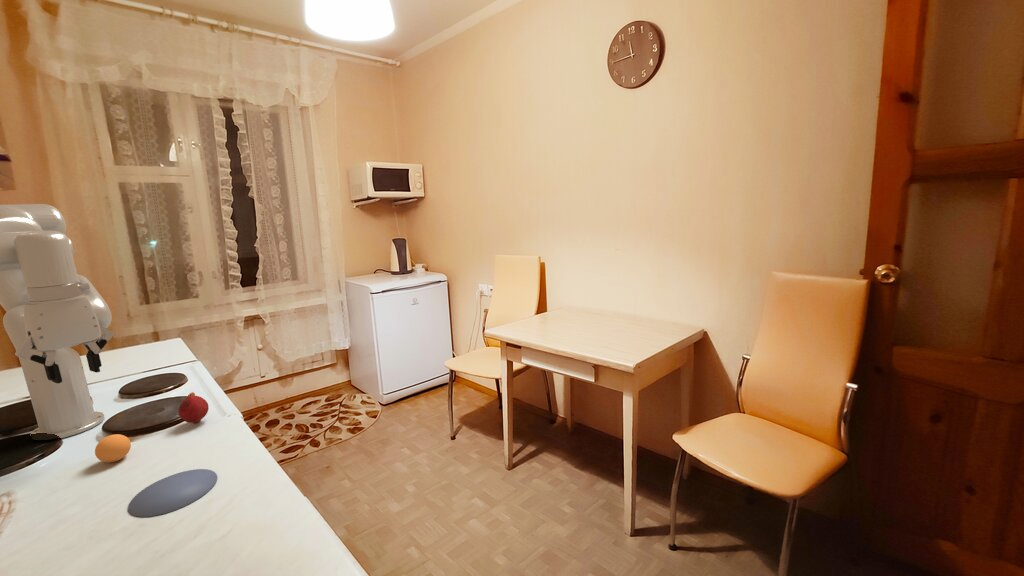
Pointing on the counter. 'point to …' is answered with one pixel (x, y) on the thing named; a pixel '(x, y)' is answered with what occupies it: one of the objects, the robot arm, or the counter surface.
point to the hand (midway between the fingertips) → (76, 375)
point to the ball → (112, 448)
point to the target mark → (172, 493)
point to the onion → (193, 409)
